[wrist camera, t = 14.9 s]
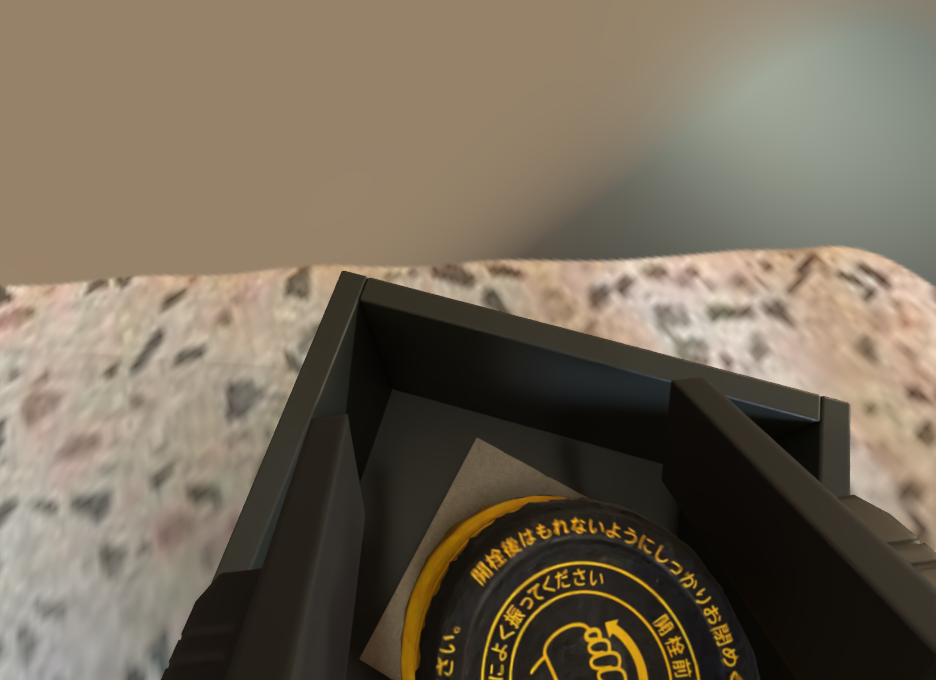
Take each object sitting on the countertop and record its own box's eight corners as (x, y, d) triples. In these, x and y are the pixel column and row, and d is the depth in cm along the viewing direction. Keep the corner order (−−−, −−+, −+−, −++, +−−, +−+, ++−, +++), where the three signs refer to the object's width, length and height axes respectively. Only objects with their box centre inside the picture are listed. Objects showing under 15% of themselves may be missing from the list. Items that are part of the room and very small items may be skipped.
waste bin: (698, 460, 24) (852, 402, 14) (650, 877, 18) (846, 1201, 9) (383, 373, 25) (341, 268, 16) (252, 741, 19) (73, 909, 10)
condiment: (359, 658, 18) (254, 812, 7) (476, 438, 21) (533, 299, 10) (556, 779, 17) (799, 1182, 6) (646, 530, 20) (915, 491, 9)
